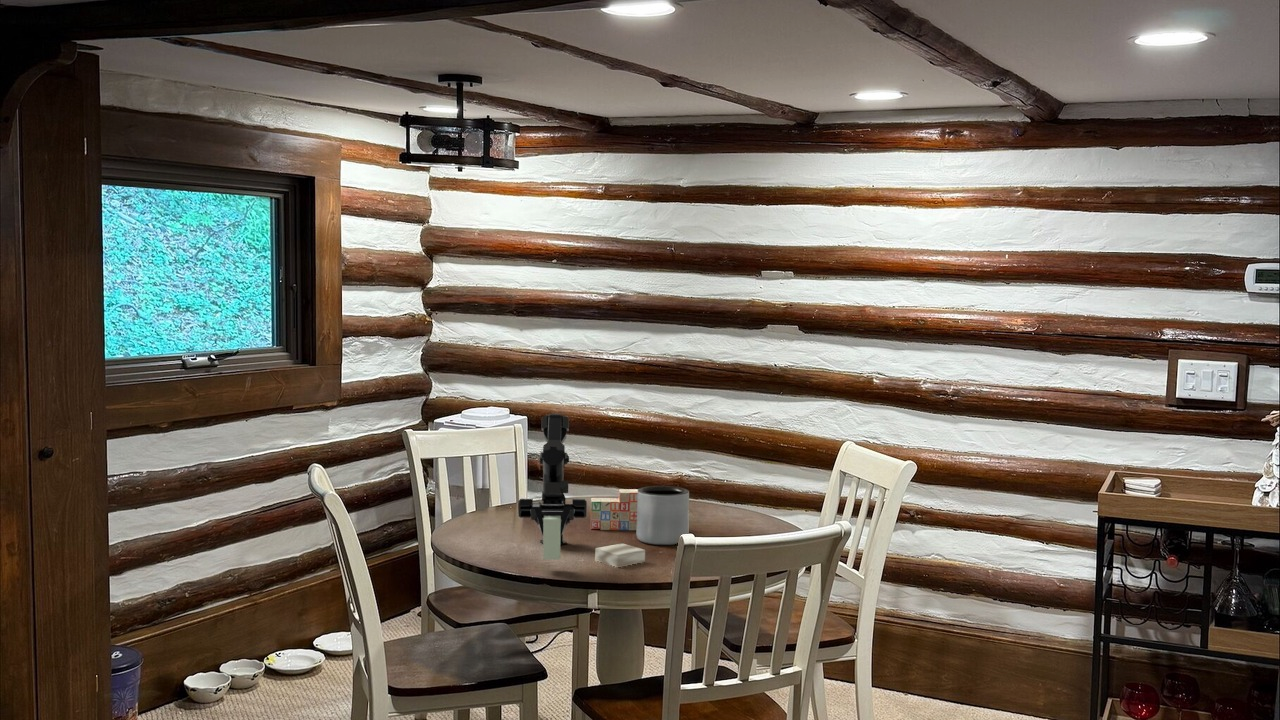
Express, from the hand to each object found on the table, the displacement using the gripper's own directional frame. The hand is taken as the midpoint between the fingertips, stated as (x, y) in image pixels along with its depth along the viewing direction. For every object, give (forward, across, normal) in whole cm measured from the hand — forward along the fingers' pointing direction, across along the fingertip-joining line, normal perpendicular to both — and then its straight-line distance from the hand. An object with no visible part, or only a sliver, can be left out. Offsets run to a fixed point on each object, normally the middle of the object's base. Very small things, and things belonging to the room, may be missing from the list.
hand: (551, 534), depth 302 cm
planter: (-19, +33, +34) cm, 51 cm away
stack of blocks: (-31, +22, +46) cm, 60 cm away
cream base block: (0, +19, +16) cm, 25 cm away
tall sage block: (+4, 0, +6) cm, 7 cm away
